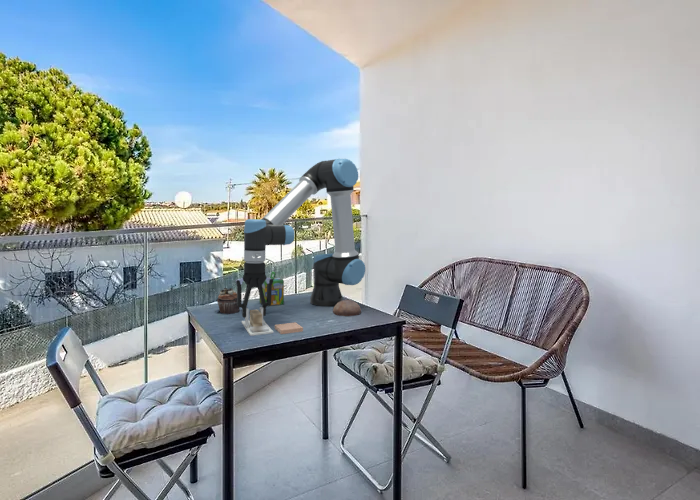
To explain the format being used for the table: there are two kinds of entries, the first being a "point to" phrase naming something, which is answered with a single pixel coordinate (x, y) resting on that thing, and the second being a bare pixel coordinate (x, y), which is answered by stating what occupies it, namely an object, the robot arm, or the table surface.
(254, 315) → the beige boxy piece
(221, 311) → the cupcake
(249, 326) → the mat
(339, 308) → the decorative stone
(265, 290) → the chalk box
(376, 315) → the table surface
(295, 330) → the tile
